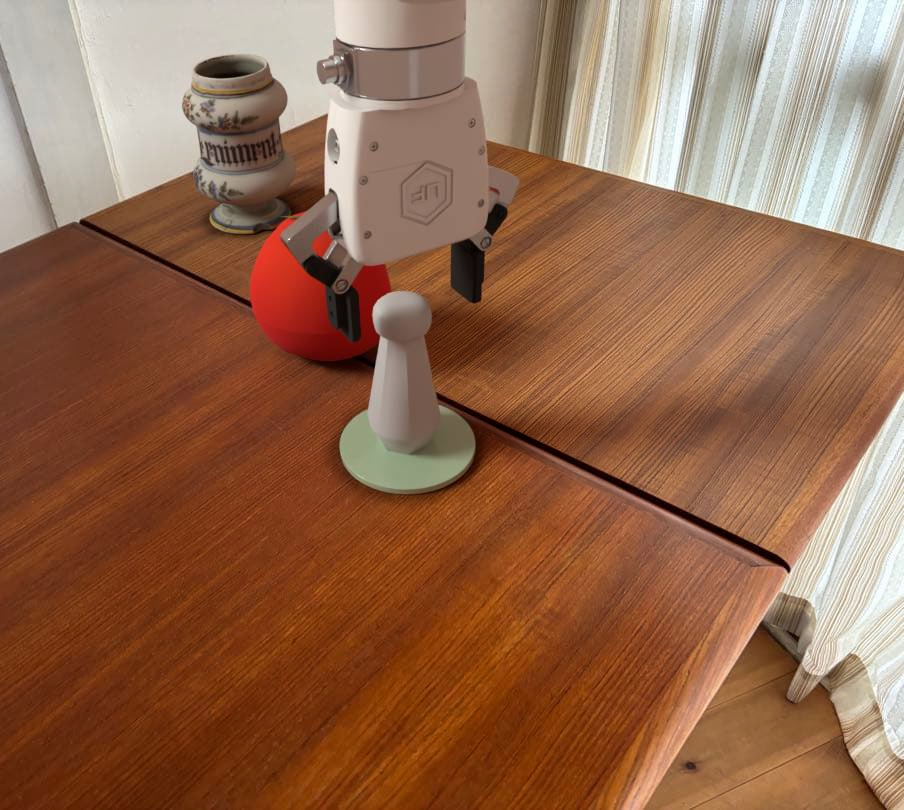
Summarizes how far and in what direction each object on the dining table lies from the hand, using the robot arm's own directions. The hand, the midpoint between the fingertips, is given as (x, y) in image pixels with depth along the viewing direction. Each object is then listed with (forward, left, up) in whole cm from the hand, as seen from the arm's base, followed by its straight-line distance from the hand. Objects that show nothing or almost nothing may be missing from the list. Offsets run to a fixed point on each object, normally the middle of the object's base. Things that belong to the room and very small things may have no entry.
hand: (408, 313), depth 60 cm
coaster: (0, 0, -13) cm, 13 cm away
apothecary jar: (+30, -36, -13) cm, 49 cm away
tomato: (+11, -11, -13) cm, 21 cm away
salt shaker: (+1, -1, -13) cm, 13 cm away
